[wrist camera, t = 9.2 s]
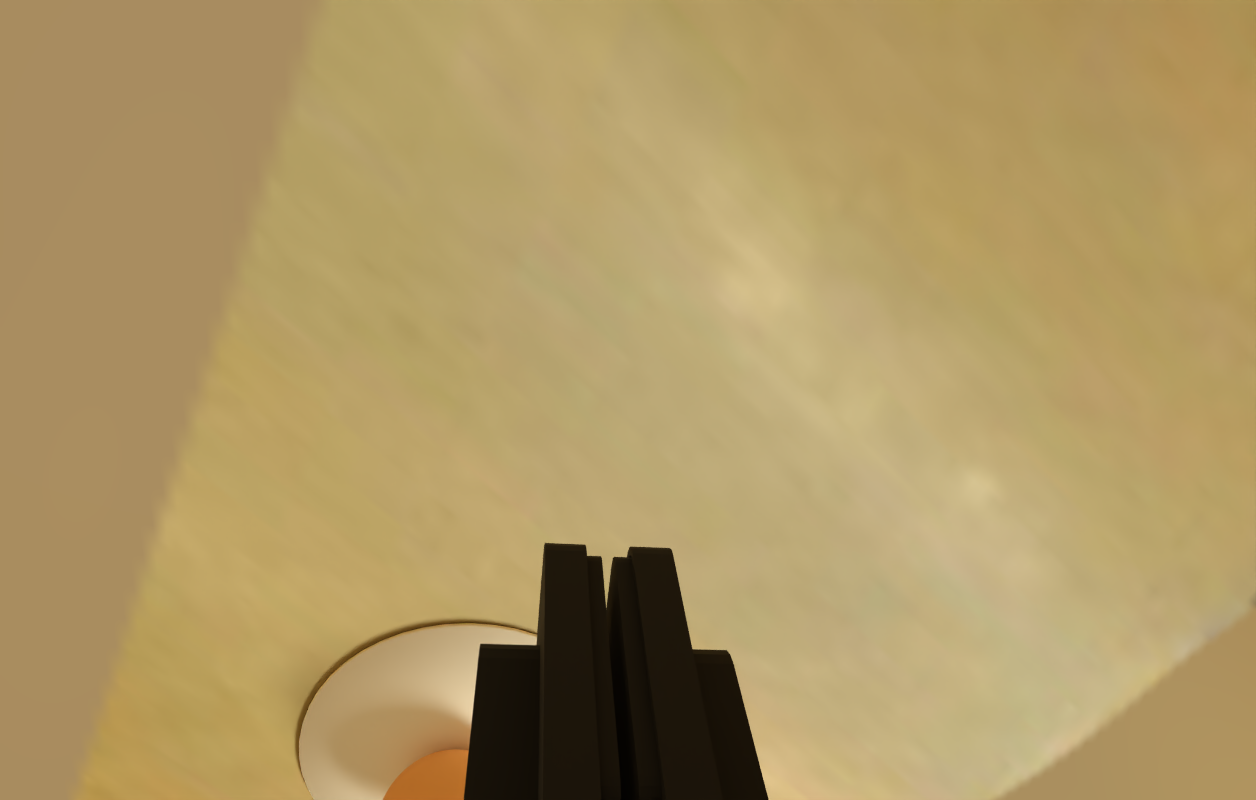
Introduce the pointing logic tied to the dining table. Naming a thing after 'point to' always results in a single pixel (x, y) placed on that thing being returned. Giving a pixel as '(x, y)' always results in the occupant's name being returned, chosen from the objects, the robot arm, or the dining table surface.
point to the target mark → (394, 708)
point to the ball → (432, 778)
